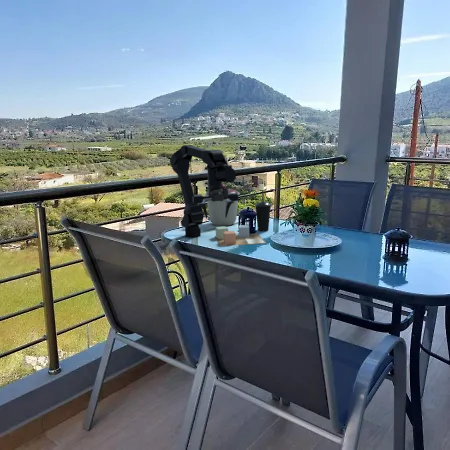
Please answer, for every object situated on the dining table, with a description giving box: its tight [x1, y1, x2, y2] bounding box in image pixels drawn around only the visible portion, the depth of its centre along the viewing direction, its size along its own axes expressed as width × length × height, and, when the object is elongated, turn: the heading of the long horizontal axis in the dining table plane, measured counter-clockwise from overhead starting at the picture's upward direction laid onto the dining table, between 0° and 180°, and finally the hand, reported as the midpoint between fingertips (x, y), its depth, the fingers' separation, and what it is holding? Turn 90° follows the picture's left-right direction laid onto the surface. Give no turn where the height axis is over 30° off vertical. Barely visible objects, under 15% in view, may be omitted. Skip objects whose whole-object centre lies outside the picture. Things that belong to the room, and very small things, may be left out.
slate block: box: [238, 224, 250, 238], centre depth 183 cm, size 4×4×4 cm
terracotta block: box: [224, 230, 237, 244], centre depth 172 cm, size 4×4×4 cm
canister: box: [204, 183, 241, 227], centre depth 212 cm, size 18×18×21 cm
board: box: [214, 233, 267, 247], centre depth 178 cm, size 20×17×1 cm
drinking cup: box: [254, 190, 272, 232], centre depth 191 cm, size 8×8×20 cm
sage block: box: [215, 226, 229, 239], centre depth 181 cm, size 4×4×4 cm
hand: (216, 218), depth 170 cm, fingers open, 8 cm apart
